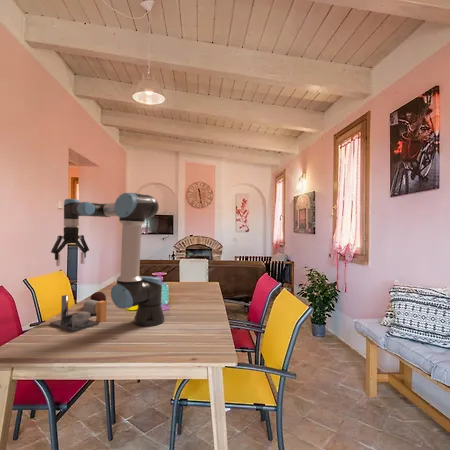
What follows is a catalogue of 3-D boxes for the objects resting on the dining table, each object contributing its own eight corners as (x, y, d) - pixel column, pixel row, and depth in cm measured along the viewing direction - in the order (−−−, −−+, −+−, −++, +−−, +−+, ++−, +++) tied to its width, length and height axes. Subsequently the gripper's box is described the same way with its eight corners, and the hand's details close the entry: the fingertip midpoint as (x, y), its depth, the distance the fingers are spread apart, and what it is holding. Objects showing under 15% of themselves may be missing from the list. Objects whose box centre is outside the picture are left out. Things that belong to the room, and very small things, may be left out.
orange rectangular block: (106, 320, 156) (106, 301, 156) (100, 322, 154) (100, 302, 154) (101, 319, 158) (102, 300, 158) (96, 321, 155) (96, 301, 155)
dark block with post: (98, 324, 150) (98, 298, 150) (73, 332, 139) (73, 303, 139) (74, 318, 160) (75, 293, 160) (49, 324, 149) (50, 298, 149)
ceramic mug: (94, 316, 163) (94, 302, 164) (82, 314, 166) (82, 300, 166) (107, 311, 173) (108, 298, 174) (96, 310, 176) (96, 297, 176)
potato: (86, 310, 175) (87, 294, 176) (94, 304, 187) (94, 289, 187) (102, 310, 176) (102, 294, 176) (108, 304, 188) (108, 289, 188)
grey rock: (94, 323, 148) (95, 311, 148) (79, 328, 141) (80, 315, 141) (87, 321, 151) (87, 309, 151) (72, 326, 144) (72, 313, 144)
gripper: (88, 226, 182) (88, 262, 182) (44, 226, 161) (43, 266, 161) (95, 226, 177) (95, 263, 177) (51, 226, 157) (50, 267, 157)
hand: (70, 264), depth 169 cm, fingers open, 13 cm apart
